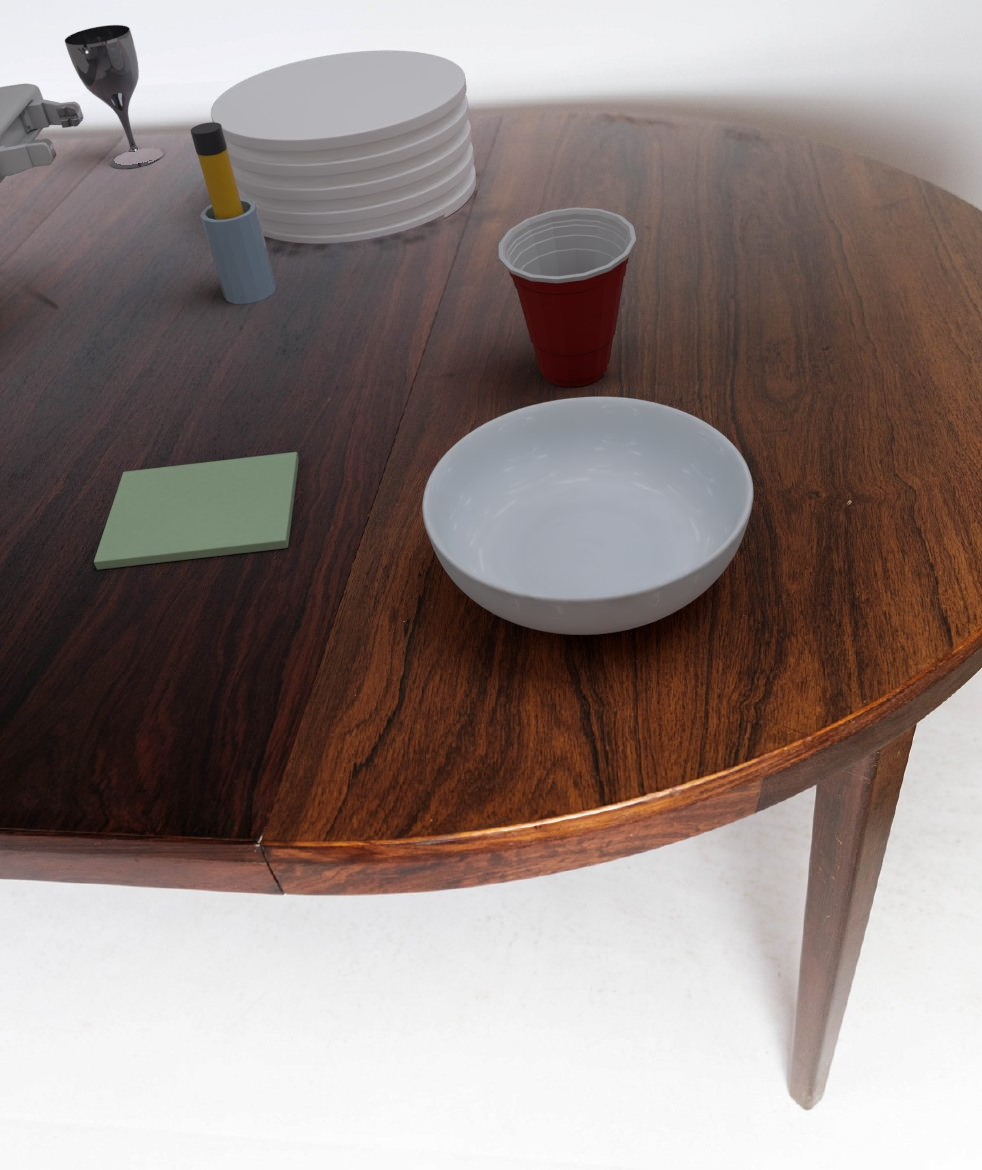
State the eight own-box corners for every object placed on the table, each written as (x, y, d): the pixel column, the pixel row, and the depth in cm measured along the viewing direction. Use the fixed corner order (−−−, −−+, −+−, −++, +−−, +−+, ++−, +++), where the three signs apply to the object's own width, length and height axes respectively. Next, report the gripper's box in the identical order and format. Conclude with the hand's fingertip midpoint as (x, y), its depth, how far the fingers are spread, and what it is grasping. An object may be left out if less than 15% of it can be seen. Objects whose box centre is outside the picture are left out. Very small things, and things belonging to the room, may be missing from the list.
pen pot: (222, 312, 104) (197, 224, 98) (229, 287, 108) (204, 202, 102) (274, 306, 104) (252, 218, 98) (279, 281, 108) (257, 195, 102)
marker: (234, 299, 105) (188, 135, 94) (237, 286, 107) (192, 124, 96) (262, 296, 104) (219, 131, 94) (265, 283, 107) (223, 120, 96)
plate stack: (193, 206, 125) (163, 106, 117) (378, 132, 137) (363, 37, 129) (329, 272, 108) (306, 161, 100) (526, 181, 121) (518, 75, 113)
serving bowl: (499, 455, 82) (491, 379, 77) (772, 497, 75) (781, 416, 70) (384, 640, 68) (365, 561, 63) (705, 712, 61) (711, 629, 56)
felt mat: (96, 570, 76) (93, 561, 76) (126, 479, 84) (123, 471, 84) (288, 548, 76) (285, 539, 75) (299, 459, 84) (297, 451, 83)
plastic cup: (485, 387, 89) (469, 253, 81) (551, 328, 95) (543, 199, 87) (597, 418, 84) (592, 279, 76) (659, 354, 90) (661, 219, 82)
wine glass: (179, 148, 140) (143, 26, 130) (141, 172, 135) (100, 46, 125) (132, 145, 143) (93, 24, 133) (93, 167, 138) (50, 44, 128)
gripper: (-30, 141, 105) (105, 126, 105) (-109, 229, 90) (48, 212, 90) (-59, 75, 101) (82, 59, 100) (-146, 155, 86) (19, 136, 85)
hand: (66, 131), depth 95 cm, fingers open, 8 cm apart
